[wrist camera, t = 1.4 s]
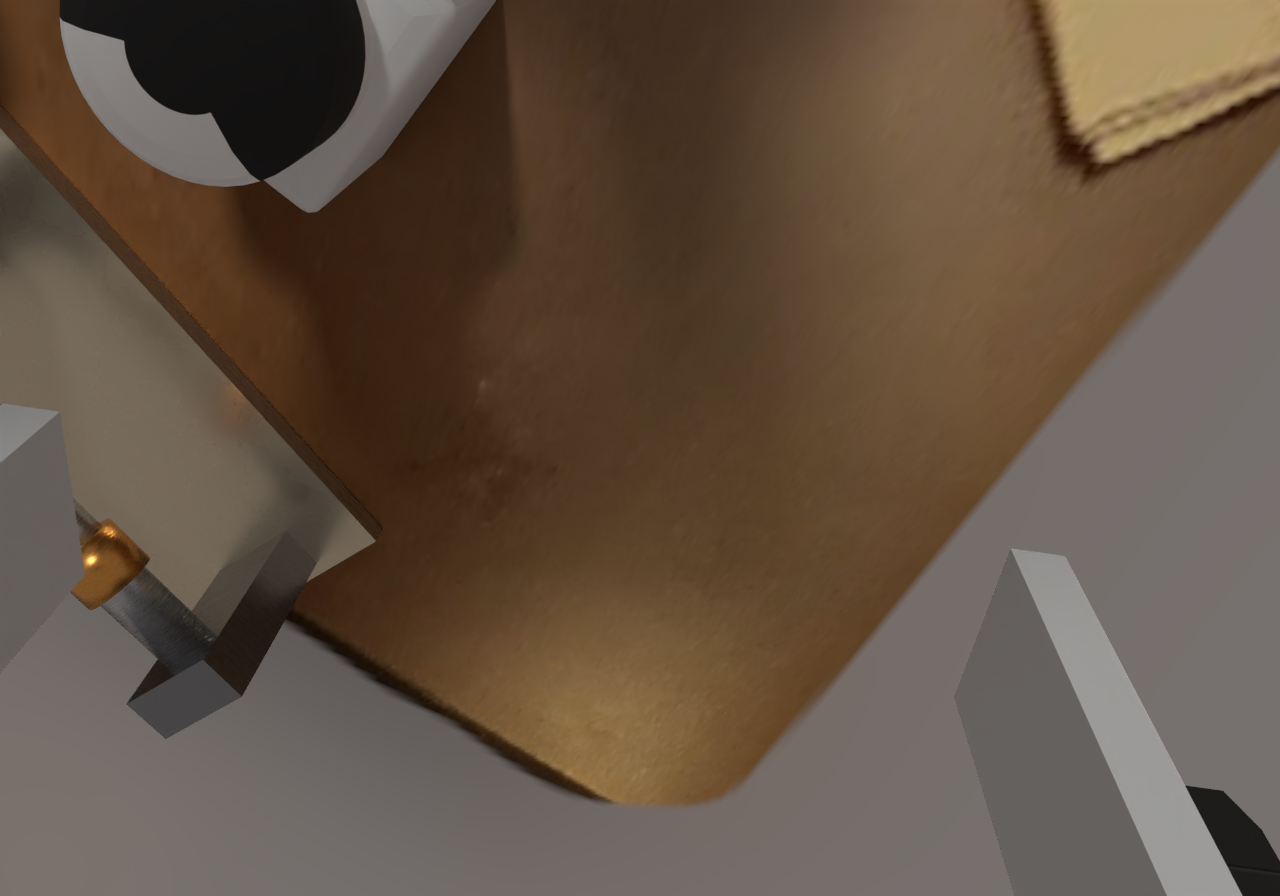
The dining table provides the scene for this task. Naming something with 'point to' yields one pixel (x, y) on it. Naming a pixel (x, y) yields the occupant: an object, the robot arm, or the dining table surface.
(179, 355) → the rail
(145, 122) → the container
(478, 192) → the dining table surface
